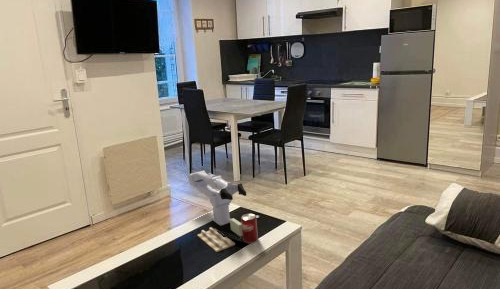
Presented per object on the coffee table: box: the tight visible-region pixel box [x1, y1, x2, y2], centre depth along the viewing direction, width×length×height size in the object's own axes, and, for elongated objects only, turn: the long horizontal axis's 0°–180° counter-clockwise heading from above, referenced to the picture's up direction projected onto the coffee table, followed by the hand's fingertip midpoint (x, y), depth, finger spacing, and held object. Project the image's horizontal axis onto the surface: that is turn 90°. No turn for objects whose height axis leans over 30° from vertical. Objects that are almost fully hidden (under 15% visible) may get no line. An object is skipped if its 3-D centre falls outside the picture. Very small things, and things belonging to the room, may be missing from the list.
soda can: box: [240, 213, 259, 244], centre depth 174 cm, size 7×7×12 cm
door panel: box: [229, 217, 243, 237], centre depth 183 cm, size 9×2×6 cm, turn 33°
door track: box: [197, 226, 236, 253], centre depth 177 cm, size 20×10×2 cm, turn 33°
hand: (238, 195), depth 176 cm, fingers open, 7 cm apart
